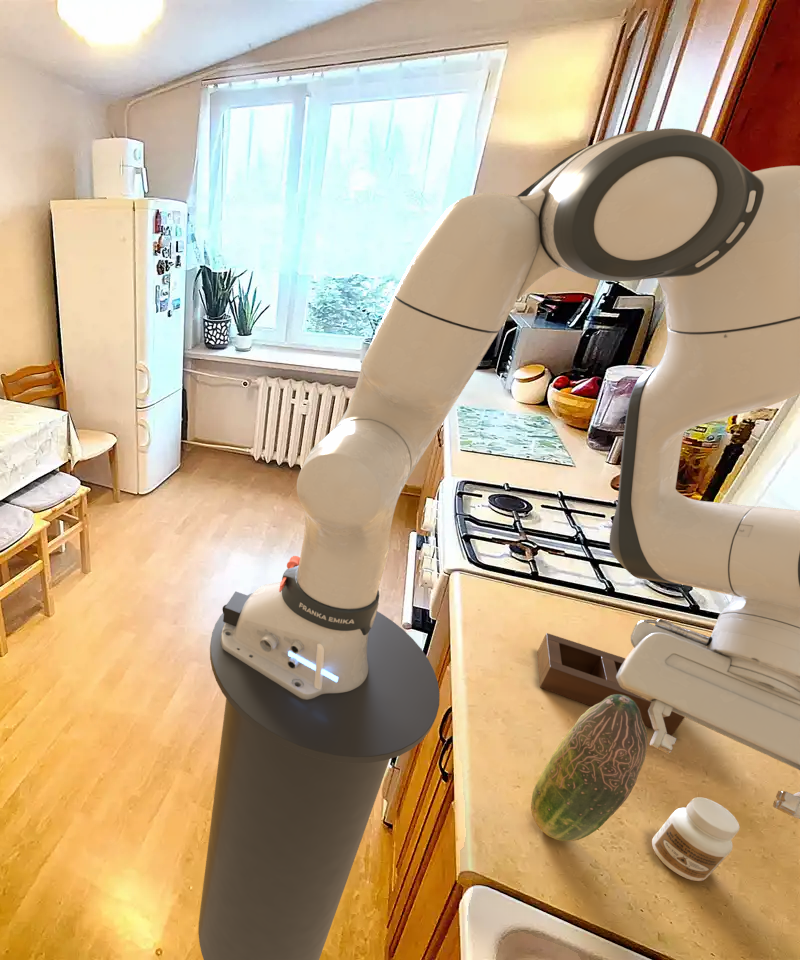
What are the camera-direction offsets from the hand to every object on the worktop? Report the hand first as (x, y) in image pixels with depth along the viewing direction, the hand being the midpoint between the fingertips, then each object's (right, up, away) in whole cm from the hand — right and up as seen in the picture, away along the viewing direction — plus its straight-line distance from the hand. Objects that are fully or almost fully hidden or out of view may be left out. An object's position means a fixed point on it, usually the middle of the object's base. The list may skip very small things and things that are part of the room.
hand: (719, 779), depth 53 cm
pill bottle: (-3, -9, +1) cm, 10 cm away
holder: (+5, +1, +20) cm, 21 cm away
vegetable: (-14, -7, +4) cm, 17 cm away
